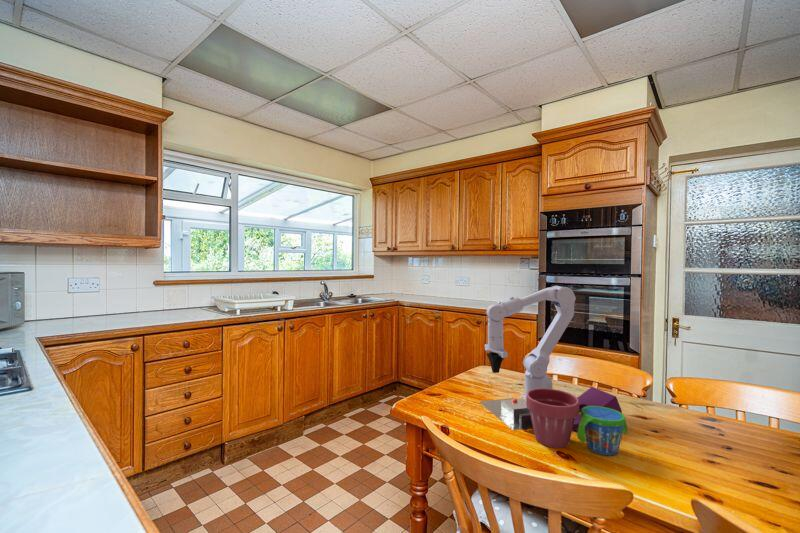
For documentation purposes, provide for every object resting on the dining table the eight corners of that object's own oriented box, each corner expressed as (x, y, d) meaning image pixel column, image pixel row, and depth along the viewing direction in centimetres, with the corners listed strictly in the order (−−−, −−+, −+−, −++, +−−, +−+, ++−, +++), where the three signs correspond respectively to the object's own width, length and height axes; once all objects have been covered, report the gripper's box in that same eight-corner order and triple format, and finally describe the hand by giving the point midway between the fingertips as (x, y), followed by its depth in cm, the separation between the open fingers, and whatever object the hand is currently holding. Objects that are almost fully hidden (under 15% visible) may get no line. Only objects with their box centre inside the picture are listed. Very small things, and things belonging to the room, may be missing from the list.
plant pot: (589, 452, 99) (589, 405, 99) (537, 453, 99) (537, 406, 99) (564, 428, 113) (564, 387, 113) (519, 429, 113) (519, 388, 113)
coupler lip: (512, 398, 139) (512, 387, 139) (553, 426, 115) (552, 412, 115) (478, 402, 136) (478, 390, 136) (512, 431, 112) (512, 417, 112)
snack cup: (611, 437, 108) (611, 402, 108) (642, 455, 97) (642, 417, 97) (565, 443, 104) (564, 408, 104) (592, 463, 94) (592, 423, 94)
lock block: (522, 410, 127) (521, 396, 127) (535, 420, 119) (535, 405, 119) (501, 412, 125) (501, 398, 125) (513, 422, 118) (513, 407, 117)
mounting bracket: (583, 452, 111) (625, 419, 116) (574, 428, 110) (616, 396, 115) (561, 437, 120) (600, 407, 125) (552, 416, 119) (592, 386, 124)
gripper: (477, 333, 145) (477, 367, 145) (494, 341, 131) (495, 378, 131) (493, 332, 147) (494, 366, 147) (512, 339, 133) (513, 377, 133)
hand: (495, 372), depth 139 cm, fingers closed
